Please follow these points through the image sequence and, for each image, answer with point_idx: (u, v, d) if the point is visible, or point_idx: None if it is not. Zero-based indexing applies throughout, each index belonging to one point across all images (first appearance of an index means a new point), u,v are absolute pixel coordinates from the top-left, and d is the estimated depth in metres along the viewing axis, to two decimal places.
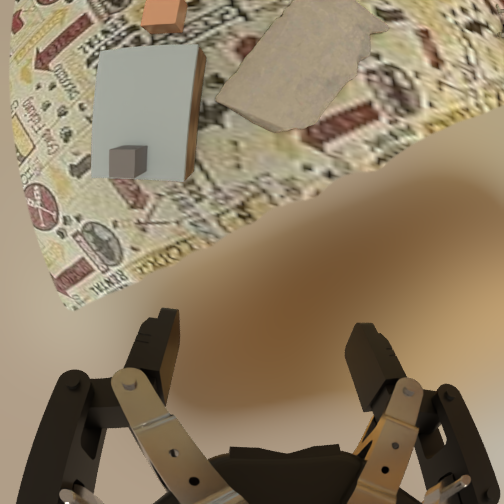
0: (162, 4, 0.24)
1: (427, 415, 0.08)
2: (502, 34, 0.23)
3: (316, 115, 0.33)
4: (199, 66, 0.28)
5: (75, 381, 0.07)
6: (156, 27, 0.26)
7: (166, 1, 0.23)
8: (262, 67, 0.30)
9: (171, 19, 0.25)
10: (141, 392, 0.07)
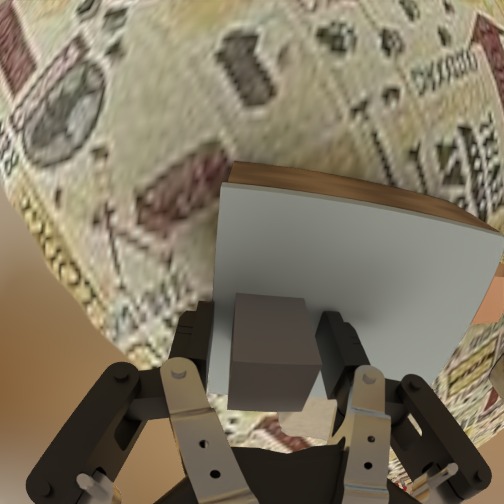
0: (500, 302, 0.17)
1: (390, 405, 0.08)
2: None
3: None
4: None
5: (123, 374, 0.08)
6: None
7: (501, 306, 0.17)
8: None
9: (477, 318, 0.17)
10: (192, 380, 0.08)
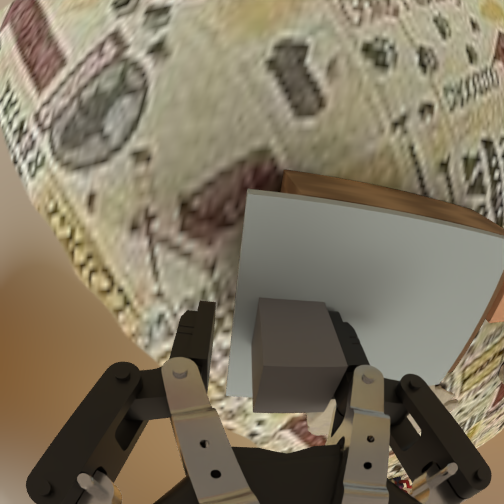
0: None
1: (390, 405, 0.08)
2: None
3: (322, 434, 0.28)
4: None
5: (124, 374, 0.08)
6: None
7: None
8: None
9: (495, 317, 0.18)
10: (193, 380, 0.08)
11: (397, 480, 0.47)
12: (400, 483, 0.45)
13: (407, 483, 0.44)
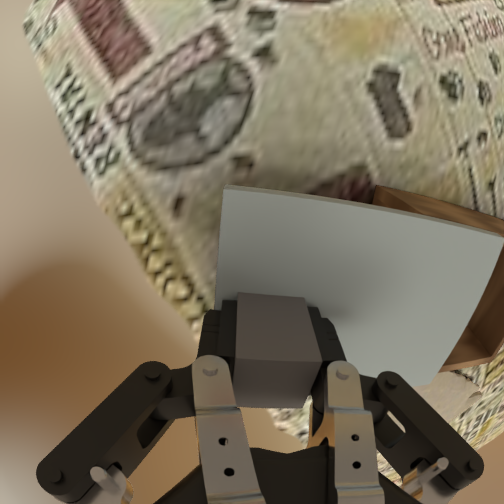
0: None
1: (365, 402, 0.09)
2: None
3: None
4: None
5: (155, 373, 0.08)
6: None
7: None
8: (430, 389, 0.25)
9: None
10: (225, 377, 0.08)
11: None
12: None
13: None
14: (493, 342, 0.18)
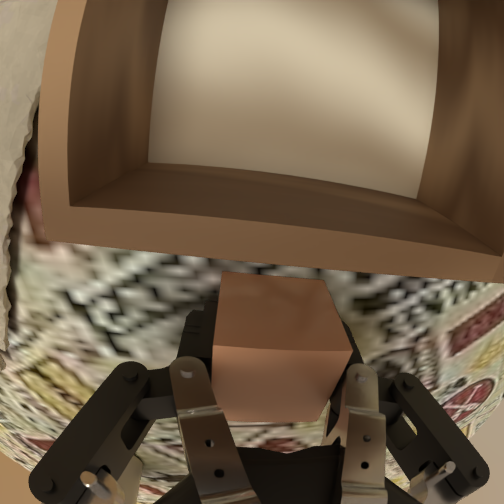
0: (267, 403, 0.10)
1: (383, 404, 0.09)
2: None
3: None
4: None
5: (132, 373, 0.08)
6: (296, 322, 0.10)
7: (254, 409, 0.10)
8: None
9: (230, 359, 0.09)
10: (202, 379, 0.08)
11: None
12: None
13: None
14: (132, 197, 0.06)
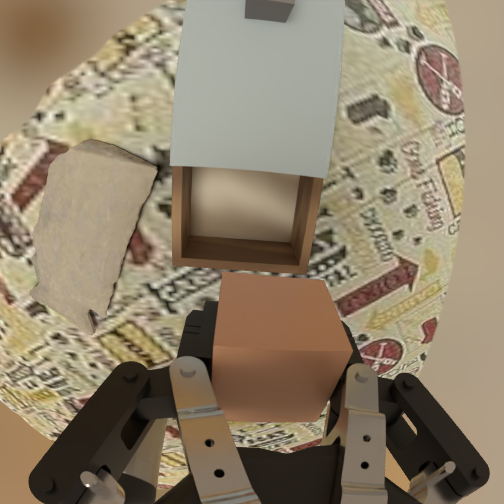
0: (268, 404, 0.10)
1: (383, 404, 0.09)
2: None
3: (49, 175, 0.25)
4: None
5: (132, 373, 0.08)
6: (296, 322, 0.10)
7: (255, 409, 0.10)
8: (109, 220, 0.27)
9: (230, 360, 0.09)
10: (202, 379, 0.08)
11: None
12: None
13: None
14: (195, 254, 0.26)
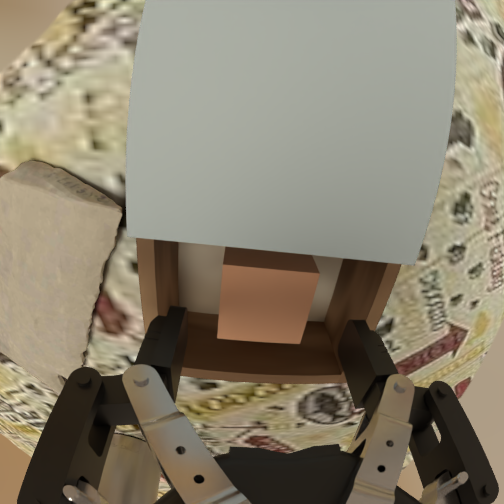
0: (261, 320, 0.14)
1: (419, 412, 0.08)
2: None
3: None
4: None
5: (86, 378, 0.07)
6: (280, 256, 0.14)
7: (251, 326, 0.15)
8: (61, 282, 0.17)
9: (234, 277, 0.13)
10: (153, 388, 0.08)
11: None
12: None
13: None
14: (184, 357, 0.16)
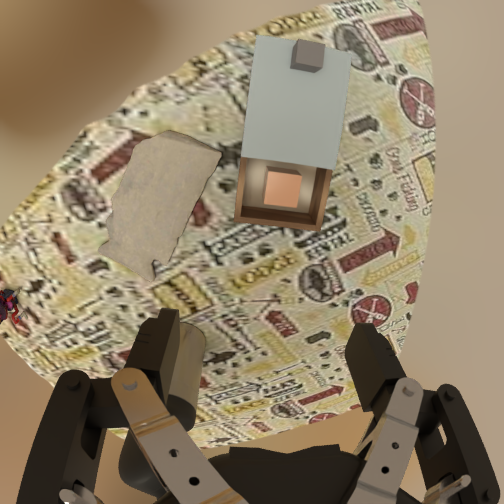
0: (281, 195, 0.38)
1: (427, 415, 0.08)
2: (16, 293, 0.48)
3: (134, 154, 0.38)
4: None
5: (75, 381, 0.07)
6: (287, 172, 0.38)
7: (277, 198, 0.38)
8: (184, 187, 0.40)
9: (272, 176, 0.37)
10: (141, 392, 0.07)
11: (14, 300, 0.51)
12: (13, 305, 0.50)
13: (15, 312, 0.50)
14: (248, 215, 0.39)
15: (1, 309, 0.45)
